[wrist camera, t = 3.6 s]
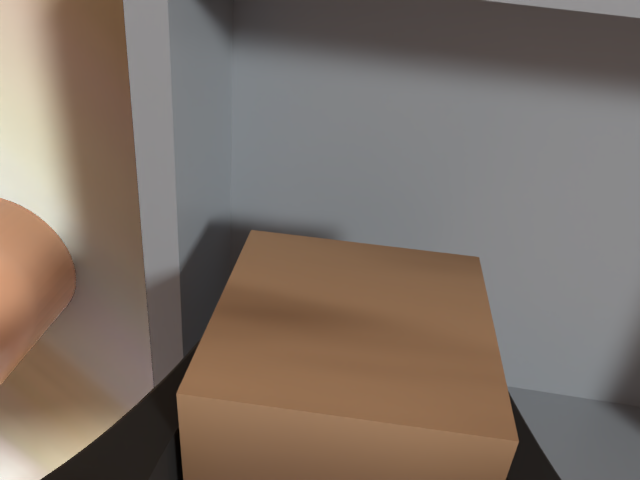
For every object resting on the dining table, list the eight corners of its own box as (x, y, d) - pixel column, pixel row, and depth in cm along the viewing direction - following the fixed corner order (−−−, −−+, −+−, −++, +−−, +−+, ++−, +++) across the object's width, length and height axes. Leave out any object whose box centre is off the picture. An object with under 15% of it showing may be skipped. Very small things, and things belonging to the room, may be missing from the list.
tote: (726, 425, 19) (816, 575, 15) (211, 345, 21) (160, 463, 16) (1010, -13, 12) (1323, 33, 8) (206, -98, 14) (115, -97, 9)
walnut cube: (439, 419, 15) (454, 626, 11) (249, 393, 15) (191, 582, 11) (479, 257, 13) (519, 441, 8) (250, 229, 13) (176, 393, 9)
